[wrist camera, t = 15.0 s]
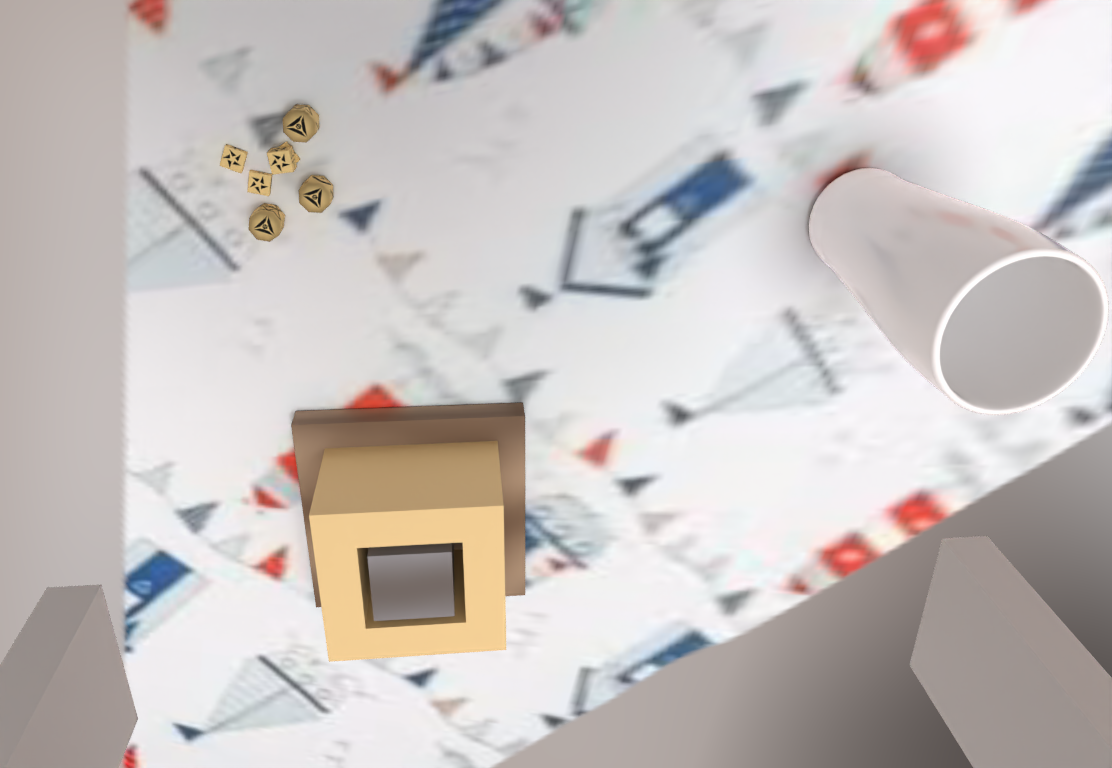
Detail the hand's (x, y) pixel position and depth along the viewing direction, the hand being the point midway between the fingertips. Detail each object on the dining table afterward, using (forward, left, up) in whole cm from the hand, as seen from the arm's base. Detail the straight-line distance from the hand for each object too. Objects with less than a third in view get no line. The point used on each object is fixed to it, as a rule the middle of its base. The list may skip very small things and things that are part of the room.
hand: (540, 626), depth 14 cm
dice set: (+1, -9, -33) cm, 34 cm away
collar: (+19, -4, -30) cm, 36 cm away
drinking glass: (+3, +19, -32) cm, 37 cm away
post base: (+19, -4, -32) cm, 37 cm away
